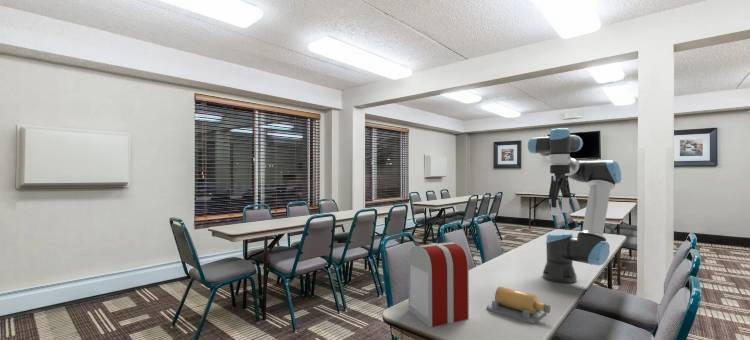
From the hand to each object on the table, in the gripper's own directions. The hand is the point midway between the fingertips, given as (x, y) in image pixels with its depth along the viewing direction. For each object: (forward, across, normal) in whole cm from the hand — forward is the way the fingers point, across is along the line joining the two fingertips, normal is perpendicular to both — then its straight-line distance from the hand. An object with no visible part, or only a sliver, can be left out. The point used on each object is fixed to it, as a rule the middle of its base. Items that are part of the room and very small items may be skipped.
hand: (560, 213), depth 144 cm
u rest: (+37, -26, +8) cm, 46 cm away
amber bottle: (+36, -26, +5) cm, 44 cm away
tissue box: (+37, -50, +28) cm, 68 cm away
